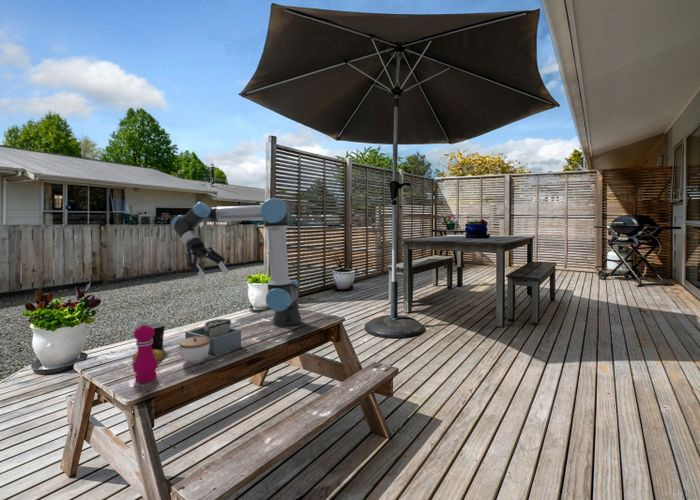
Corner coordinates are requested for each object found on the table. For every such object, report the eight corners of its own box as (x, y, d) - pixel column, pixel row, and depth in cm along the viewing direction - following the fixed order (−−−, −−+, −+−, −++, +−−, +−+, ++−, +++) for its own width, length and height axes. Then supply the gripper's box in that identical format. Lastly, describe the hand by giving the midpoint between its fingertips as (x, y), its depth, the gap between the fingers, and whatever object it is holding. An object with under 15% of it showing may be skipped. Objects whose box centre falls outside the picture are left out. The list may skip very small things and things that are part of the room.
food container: (222, 339, 162) (221, 317, 161) (231, 341, 159) (231, 319, 158) (198, 347, 152) (197, 323, 151) (207, 350, 148) (207, 326, 148)
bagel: (169, 359, 142) (169, 347, 141) (140, 368, 133) (139, 356, 132) (156, 354, 147) (155, 342, 147) (127, 363, 138) (126, 350, 138)
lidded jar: (175, 361, 139) (174, 337, 139) (201, 353, 148) (201, 330, 147) (188, 368, 133) (187, 343, 132) (215, 359, 141) (215, 336, 140)
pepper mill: (128, 381, 121) (126, 322, 120) (147, 373, 128) (145, 317, 127) (144, 385, 119) (142, 325, 117) (162, 376, 126) (160, 319, 124)
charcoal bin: (213, 339, 166) (212, 323, 165) (241, 345, 157) (241, 330, 156) (185, 348, 153) (185, 331, 153) (214, 356, 144) (214, 339, 144)
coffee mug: (155, 353, 147) (154, 329, 146) (137, 351, 149) (136, 327, 148) (174, 344, 159) (174, 321, 158) (157, 342, 160) (156, 320, 159)
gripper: (210, 245, 188) (232, 276, 182) (165, 249, 166) (188, 284, 160) (217, 235, 185) (239, 266, 179) (172, 237, 163) (196, 273, 157)
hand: (215, 275), depth 169 cm, fingers open, 13 cm apart
